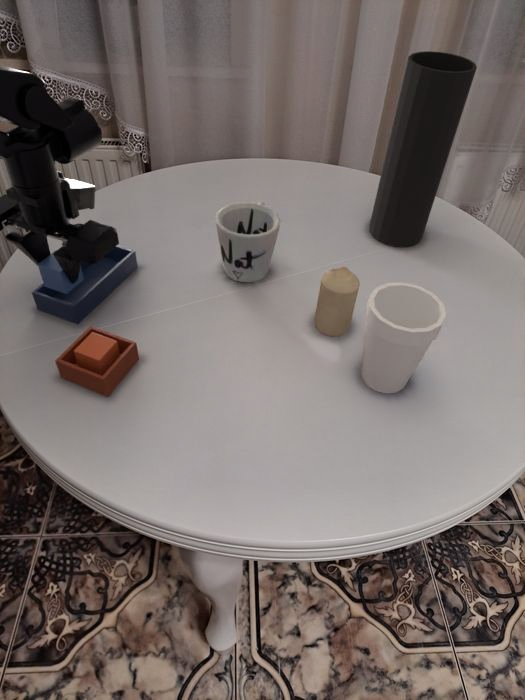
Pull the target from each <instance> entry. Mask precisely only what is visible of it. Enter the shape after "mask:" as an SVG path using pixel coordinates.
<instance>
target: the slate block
mask: <svg viewBox="0 0 525 700" xmlns="http://www.w3.org/2000/svg"><path fill="white" fill-rule="evenodd" d="M57 250H58V249H56V250H54V251H53V252H51V254H50V255H49V256H48V257H47V258H45V259H44V260H43V261H41V262H40V263H39V264H38V266H37V267H38V270H39V273H40V277H41V280H42V284H43V283H44V286H45V287H48V288H50V289H53V290H56V291H59V292H62V293H65V294H68V293H69V292H70V291H71V290H72V289H73V288H75V287H76V286H77V285H78V284H79V283H80V282H81V281H83V280H84V278H83V274H82V270H81V266H80V271H79V277H78V280H77V281H76V282H75V283H74V284H73V283H71V282H70V281H69V279H68V278H67V277H66V275H65V273H64V272H63V270H62V268H61V267H60V265H59V263H58V262H57V260H56V258H55V257H54V255H53V253H54V252H56V251H57Z"/></svg>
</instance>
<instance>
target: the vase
mask: <svg viewBox="0 0 525 700" xmlns="http://www.w3.org/2000/svg"><path fill="white" fill-rule="evenodd" d="M405 65H406V66H405V70H404V74H403V79H402V83H401V86H400V91H399V96H398V100H397V104H396V108H395V112H394V118H393V122H392V126H391V130H390V135H389V139H388V142H387V147H386V151H385V157H384V161H383V165H382V169H381V174H380V176H379V177H380V178H379V182H378V187H377V190H376V195H375V199H374V203H373V208H372V212H371V215H370V216H371V217H370V221H369V225H368V228H369V229H368V231H369V233H370V235H371V237H373V238H374V239H375V240H377V241H378V242H380V243H382V244H384V245H387V246H392V247H395V248H407V247H413V246H416V245H417V244H418V243H420V242H421V240H422V239H423V236H424V233H425V230H426V227H427V223H428V221H429V217H430V214H431V212H432V208H433V205H434V202H435V199H436V196H437V192H438V190H439V187H440V183H441V181H442V177H443V174H444V172H445V168H446V165H447V162H448V159H449V155H450V153H451V149H452V147H453V143H454V140H455V136H456V133H457V130H458V128H459V124H460V122H461V118H462V114H463V113H464V109H465V106H466V103H467V99H468V96H469V93H470V90H471V87H472V83H473V81H474V78H475V75H476V72H477V69H478V67H477V64H476V62H474V61H472V60H471V59H468V58H467V57H464V56H461V55H458V54H455V53H450V52H449V53H448V52H443V51H432V50H430V51H429V50H427V51H425V50H424V51H416V52H412V53H411V54H410V55H408V58H407V61H406V64H405Z"/></svg>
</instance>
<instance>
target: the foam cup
mask: <svg viewBox="0 0 525 700" xmlns="http://www.w3.org/2000/svg"><path fill="white" fill-rule="evenodd" d="M446 317H447V312H446V308H445V304H444V303H443V301H441V299H439V297H437V295H436V294H435V293H434V292H431V291H430V290H428V289H426V288H424V287H422V286H420V285H416V284H412V283H408V282H403V281H402V282H387V283H385V284H381V285H379V286H377V287H375V288H374V289H373V291H372V292H371V294H370V295H369V296H368V299H367V303H366V307H365V329H364V337H363V348H362V349H363V350H362V360H361V361H362V362H361V379H362V380H363V382H364V383H365V385H366V386H367V387H369V388H370V389H372V390H373V391H375V392H379V393H383V394H395V393H398V392H399V391H401V390H403V389H404V388H405V386H406V385H407V383H408V381H409V380H410V379H411V377H412V375H413V373H414V372H415V371H416V368H418V366H419V364H420V362H421V361H422V360H423V357H424V356H425V354H426V352H427V351H428V350H429V347H430V346H431V344H432V343H433V342H434V341H436V340H437V337H438V335H439V333H440V332H441V330H442V328H443V324H444V322H445V320H446Z"/></svg>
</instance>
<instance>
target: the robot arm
mask: <svg viewBox="0 0 525 700" xmlns="http://www.w3.org/2000/svg"><path fill="white" fill-rule="evenodd" d="M0 121H1V122H3V123H6V124H9V125H13V126H14V127H12V128H9V129H6V130H5V131H3V130H0V158H2V159H3V162H4V165H5V169H6V172H7V175H8V178H9V181H10V184H11V187H9V188H7V189H5V193H4V194H3V195H1V196H0V233H2V232H3V230H4V229H5V228H4V227H6V229H7V234H6V235H5V236H4V237H5V240H6V241H8V242H10V243H11V244H13V245H14V246H15V247H16V248H17V249H18V250H20V252H22V253H23V254H24V255H25V256H26V257H28V259H29V260H31V262H33V263H34V264H35V265H36V266H37V267H38V264H39V263H40V262H41V261H43V260H44V259H45V258H47V257H48V256H49V255H50V254H52V253H53V252H54V251H53V252H51V250H50V245H49V241H48V237H49V238H52V239H55V240H58V241H61V242H62V243H61V247H60V248H58V249H56V250H57V251H56V250H55V251H56V252H54V253H53V255H54V257H55V258H56V260H57V262H58V263H59V265H60V267H61V268H62V270H63V272H64V273H65V275H66V277H67V278H68V279H69V281H70V282H71V283H73V284H74V283H75V282H76V281H77V280H78V277H79V271H80V266H81V261H82V262H85V263H88V264H94V263H97V262H98V261H99V260H101V259H102V258H103V257H104V256H105V255H106V254H108V253H109V252H110V251H111V250H112V249H113V248H115V247H116V246H117V245H118V246H119V245H120V240H119V235H118V232H117V228H116V227H113V226H112V225H110V224H109V225H108V224H105V223H103V222H99V221H95V220H92V219H89V220H88V221H86V222H84V223H81V222H80V223H75V224H74V223H70V220H76V218H78V217H79V216H80V211H81V210H82V211H83V210H87V209H89V210H94V209H95V207H96V206H95V203H96V186H95V185H94V184H91V183H89V182H84V181H80V180H77V179H73V178H72V179H71V178H67V177H64V175H63V173H62V172H61V171H59V170H58V168H57V163H59V164H61V165H68V164H70V163H72V162H74V161H76V160H78V159H79V158H81V157H83V156H85V155H87V154H89V153H90V152H92V151H94V150H96V149H97V148H99V147H100V146H101V144H102V142H103V141H102V140H103V132H102V128H101V127H100V125H99V123H98V121H97V120H96V118H95V117H94V115H93V114H92V113H91V112H90V111H89V110H88V109H87V108H86V105H85V100H84V99H82V98H78V97H75V96H69V97H66V98H64V99H63V100H62V101H61V102H59V103H58V102H56V100H55V99H54V98H53V97H52V96H51V95H50V94H49V91H48V89H47V87H46V82H45V80H44V79H42V77H40V76H38V75H37V74H35V73H33V72H32V73H31V72H28V71H24V70H21V69H17V68H13V67H10V66H5V65H2V64H0ZM56 162H57V163H56Z"/></svg>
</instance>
